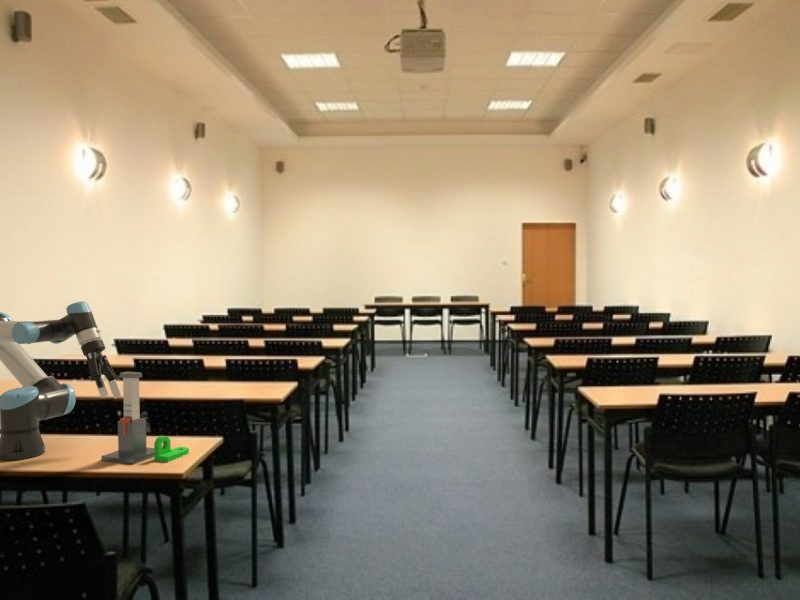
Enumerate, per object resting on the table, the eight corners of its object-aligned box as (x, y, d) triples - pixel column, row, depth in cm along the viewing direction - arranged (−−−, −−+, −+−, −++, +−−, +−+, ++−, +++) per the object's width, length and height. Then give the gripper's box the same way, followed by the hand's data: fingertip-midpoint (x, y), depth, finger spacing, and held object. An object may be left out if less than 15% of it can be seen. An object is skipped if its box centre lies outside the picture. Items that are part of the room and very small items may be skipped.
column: (120, 451, 220) (118, 373, 219) (128, 448, 223) (126, 371, 222) (136, 453, 217) (134, 374, 216) (144, 450, 221) (142, 372, 220)
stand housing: (101, 460, 216) (100, 419, 215) (131, 449, 229) (130, 411, 229) (133, 464, 211) (132, 422, 211) (162, 453, 224) (162, 413, 224)
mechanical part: (167, 462, 213) (167, 439, 213) (154, 460, 216) (154, 437, 216) (192, 453, 224) (192, 431, 224) (179, 452, 227) (179, 430, 227)
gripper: (88, 334, 216) (110, 391, 214) (112, 342, 241) (132, 393, 238) (66, 343, 215) (88, 400, 213) (93, 349, 240) (113, 401, 237)
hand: (112, 396), depth 226 cm, fingers open, 13 cm apart
